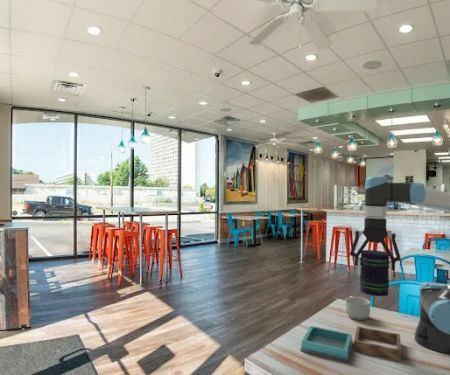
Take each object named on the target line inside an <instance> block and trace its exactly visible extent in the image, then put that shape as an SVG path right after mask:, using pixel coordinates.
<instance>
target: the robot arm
mask: <svg viewBox="0 0 450 375" xmlns="http://www.w3.org/2000/svg"><path fill="white" fill-rule="evenodd" d="M364 186H365V187H364V216H365V217H364V225H363V226H364V228H363V230H358V229H357V230H356V231H355V232H354V234H355V238H354V240H353V243H352V247H351V248H350V252H349V255H350V256H351V257H353V258H354V266H355V267H357V276H358V277H360V276H361V264H360V263H361V261H360V259H361V252H362V251H363V250H365V247H366V246H367V244H368V243H377V244H380V243H381V245H382V247H383V249H384V250H385V252H387V254H389V269H388V279H389V281H392V271H393V272H394V271H395V270H396V263H397V262H400V261H401V260H402V259H401V254H400V251H399V246H398V244H397V241H396V236H397V235H396V233H394V232H388V231H387V212H388V211H387V210H388V209H387V208H388V207H387V206H388V203H397V204H404V205H410V206H417V207H422V208H426V209H432V210H434V211H435V210H436V211H440V212H446V213H450V192H448V191H443V190H437V189H432V188H426V187H425V183H423V182H415V181H414V182H393V181H392V182H391V181H388V177H386V176H368V177H367V178H366V179H365V185H364ZM362 235H364V236H363V237H365V238H366V239H365V240H364V242H363V243H362V244H361V246H360V247H359V249H358V250H357V252H355V251H356V248H357V245H358V243H359V242H358V241H359V239H360V237H362ZM387 237H388V238H389V239H390V240H391V243H392V245H393V249H394V253H395V256H396V257H394V255H393V253H392V252H391V249H390V247H388V244H387V243H386V241H385V239H386V238H387ZM414 341H415V342H416V343H417V344H419V345H420V346H422V347H424V348H427V349H429V350H432V351H436V352H441V353H447V354H450V283H440V282H432V281H431V282H430V281H423V282H421V283H420V285H419V321H418V323H417V325H416V329H415V331H414Z"/></svg>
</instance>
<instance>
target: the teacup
mask: <svg viewBox="0 0 450 375" xmlns="http://www.w3.org/2000/svg"><path fill="white" fill-rule="evenodd" d="M344 301H345V304H344V305H345V312H346V314H347V315H348V316H349V317H350V318H351V319H354V320H359V321H363V320H365V319H367V318H369V316H370V314H371V307H370V306H371V301H370V300H369V299H367V298H364V297H358V296H354V295H353V296H352V295H350V296H349V297H346V298H345V299H344Z"/></svg>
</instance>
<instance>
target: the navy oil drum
mask: <svg viewBox="0 0 450 375" xmlns="http://www.w3.org/2000/svg"><path fill="white" fill-rule="evenodd" d="M360 257H361V259H360V261H361V263H360V264H361V267H360V276H359V287H360V288H359V292H361V293H362V294H365V295H368V296H374V297H387V296H389V288H390V284H389V283H390V280H389V261H390V257H389V254H387V252H386V251H382V250H374V249H372V250H371V249H363V251H362V252H361V254H360Z"/></svg>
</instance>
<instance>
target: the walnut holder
mask: <svg viewBox="0 0 450 375" xmlns="http://www.w3.org/2000/svg"><path fill="white" fill-rule="evenodd" d="M400 335H401V334H400V333H397V332H396V333H395V332H390V331H385V330H379V329H374V328H369V327H364V326H359V325H358V326H356V331H355V335H354V339H353V351H355V352H359V353H363V354H367V355H372V356H375V357H376V356H377V357H381V358H385V359H390V360H395V361H399V362H402V343H401V342H402V341H401V336H400ZM360 337H361V338H366V339H372V340H374V341H375V340H376V341H381V342H385V343H391V344H394V345H395V344H396V347H390V346H387V345H381V344H377V343H376V344H375V343H373V342H366V341H361V340H360V339H361V338H360Z"/></svg>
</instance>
